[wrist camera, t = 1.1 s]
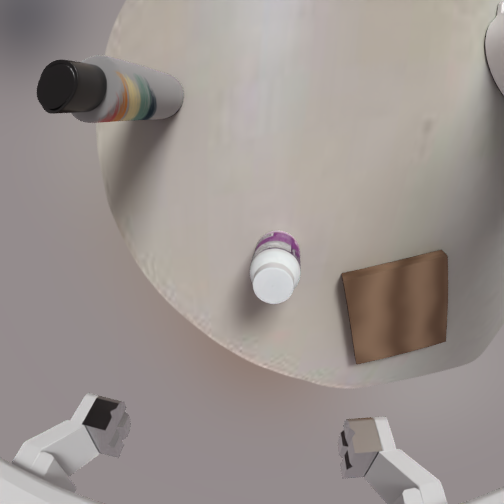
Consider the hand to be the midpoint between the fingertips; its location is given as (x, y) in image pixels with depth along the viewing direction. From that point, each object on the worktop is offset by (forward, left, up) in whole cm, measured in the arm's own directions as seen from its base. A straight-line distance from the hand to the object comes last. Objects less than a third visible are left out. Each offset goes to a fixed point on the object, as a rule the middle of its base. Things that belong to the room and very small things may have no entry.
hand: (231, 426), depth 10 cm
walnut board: (-13, +17, -30) cm, 37 cm away
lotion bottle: (+9, -17, -30) cm, 36 cm away
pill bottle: (+1, +5, -30) cm, 31 cm away
